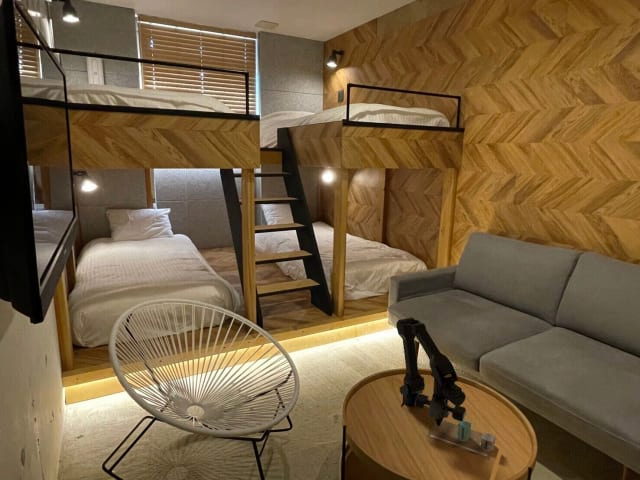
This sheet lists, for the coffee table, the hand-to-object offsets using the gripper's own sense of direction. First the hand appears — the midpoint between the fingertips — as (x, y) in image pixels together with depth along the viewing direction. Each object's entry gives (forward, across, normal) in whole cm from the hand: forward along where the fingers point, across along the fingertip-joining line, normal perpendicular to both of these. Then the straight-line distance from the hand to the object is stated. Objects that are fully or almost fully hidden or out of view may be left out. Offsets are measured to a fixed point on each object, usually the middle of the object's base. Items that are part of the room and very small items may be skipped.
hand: (438, 425), depth 171 cm
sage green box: (+2, +10, 0) cm, 10 cm away
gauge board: (+3, +9, 0) cm, 9 cm away
